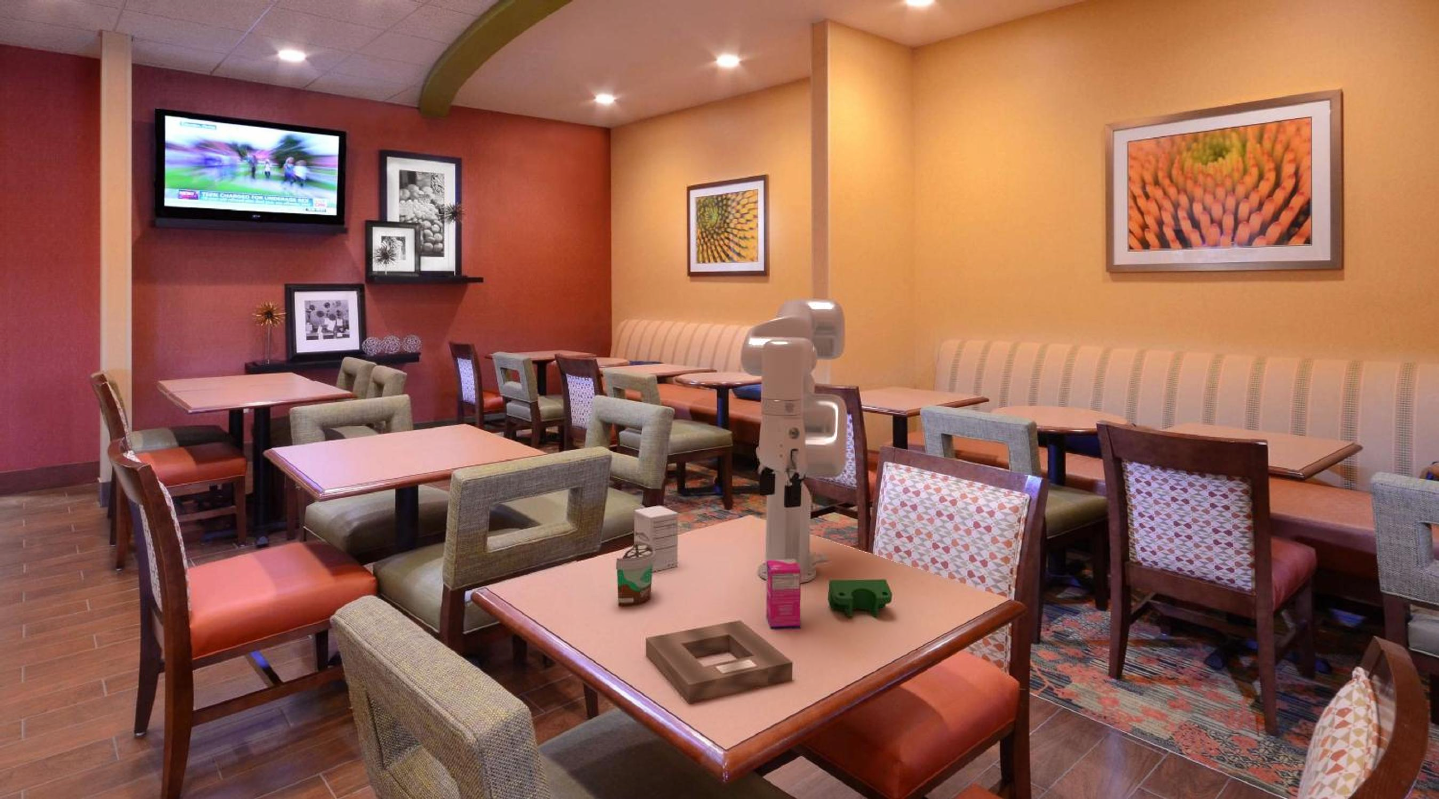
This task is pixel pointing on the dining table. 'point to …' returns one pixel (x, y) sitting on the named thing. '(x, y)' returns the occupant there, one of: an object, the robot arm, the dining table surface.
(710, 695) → the hole board
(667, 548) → the supplement box
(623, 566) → the food container
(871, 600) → the clamp
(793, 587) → the supplement box
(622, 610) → the dining table surface
